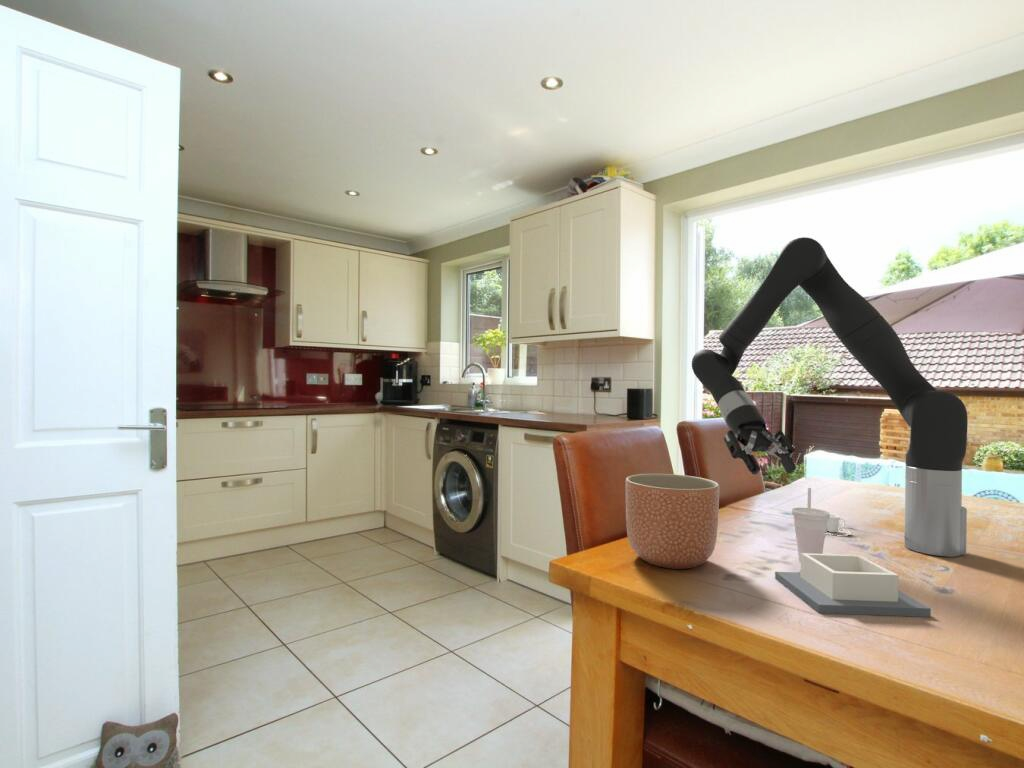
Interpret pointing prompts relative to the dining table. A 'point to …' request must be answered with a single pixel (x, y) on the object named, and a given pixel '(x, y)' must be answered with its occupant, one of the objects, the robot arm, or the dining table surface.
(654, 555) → the planter
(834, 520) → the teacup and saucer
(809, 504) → the smoothie
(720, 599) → the dining table surface
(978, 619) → the dining table surface
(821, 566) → the socket board
